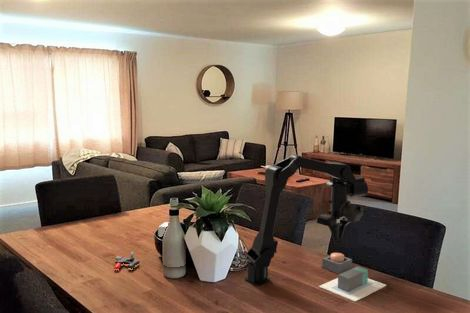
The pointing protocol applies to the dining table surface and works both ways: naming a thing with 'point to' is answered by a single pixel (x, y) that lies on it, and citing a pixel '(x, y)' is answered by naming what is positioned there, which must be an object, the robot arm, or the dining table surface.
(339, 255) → the button
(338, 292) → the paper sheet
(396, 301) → the dining table surface
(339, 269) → the button housing
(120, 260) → the grey and red toy
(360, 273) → the grey and teal block
